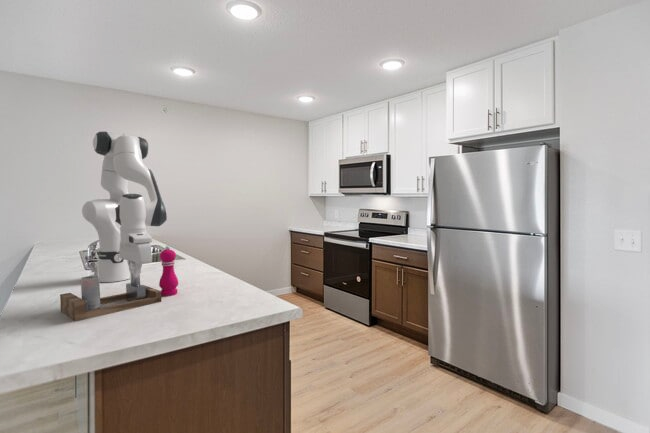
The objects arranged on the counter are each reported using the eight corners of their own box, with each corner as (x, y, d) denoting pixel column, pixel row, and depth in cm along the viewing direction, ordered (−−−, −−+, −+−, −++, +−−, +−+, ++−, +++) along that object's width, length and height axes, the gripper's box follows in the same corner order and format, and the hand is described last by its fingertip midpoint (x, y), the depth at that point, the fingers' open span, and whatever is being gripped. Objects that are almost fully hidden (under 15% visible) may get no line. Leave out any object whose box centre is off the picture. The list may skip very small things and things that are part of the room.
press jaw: (126, 299, 140) (124, 260, 139) (134, 297, 142) (133, 259, 141) (137, 303, 133) (135, 263, 132) (146, 301, 136) (144, 262, 135)
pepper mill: (171, 296, 143) (170, 247, 142) (155, 296, 145) (153, 246, 144) (182, 292, 150) (180, 244, 149) (166, 291, 152) (165, 244, 151)
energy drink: (98, 307, 130) (96, 274, 129) (102, 310, 126) (100, 277, 126) (80, 311, 126) (79, 277, 126) (84, 314, 123) (82, 279, 122)
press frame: (60, 311, 126) (60, 294, 126) (143, 294, 147) (142, 279, 147) (75, 321, 116) (74, 303, 115) (161, 301, 137) (160, 286, 137)
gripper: (114, 235, 141) (115, 270, 141) (136, 239, 127) (137, 277, 128) (131, 234, 145) (132, 267, 146) (154, 237, 132) (155, 274, 133)
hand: (135, 272), depth 137 cm, fingers closed on press jaw, 3 cm apart
